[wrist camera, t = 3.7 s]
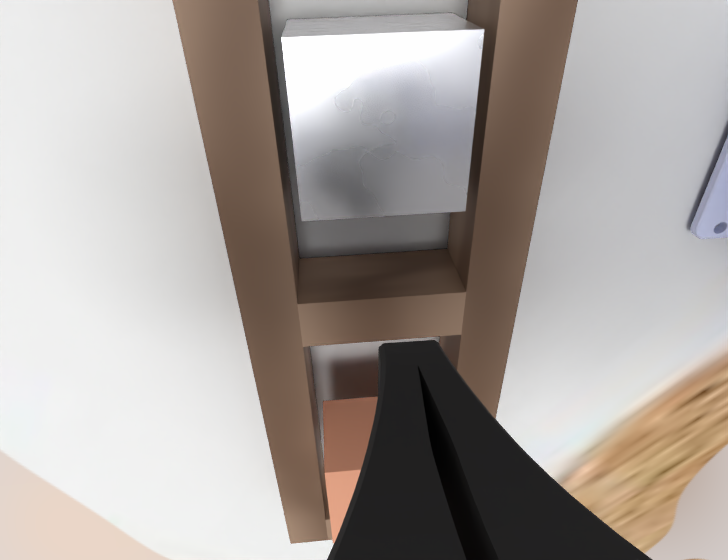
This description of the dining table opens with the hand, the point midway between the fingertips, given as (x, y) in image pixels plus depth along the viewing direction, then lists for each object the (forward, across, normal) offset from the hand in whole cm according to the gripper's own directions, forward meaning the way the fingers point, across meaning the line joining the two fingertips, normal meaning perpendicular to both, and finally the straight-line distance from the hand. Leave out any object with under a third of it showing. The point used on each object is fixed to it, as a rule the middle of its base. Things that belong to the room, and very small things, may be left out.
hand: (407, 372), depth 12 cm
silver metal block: (+8, 0, -4) cm, 9 cm away
